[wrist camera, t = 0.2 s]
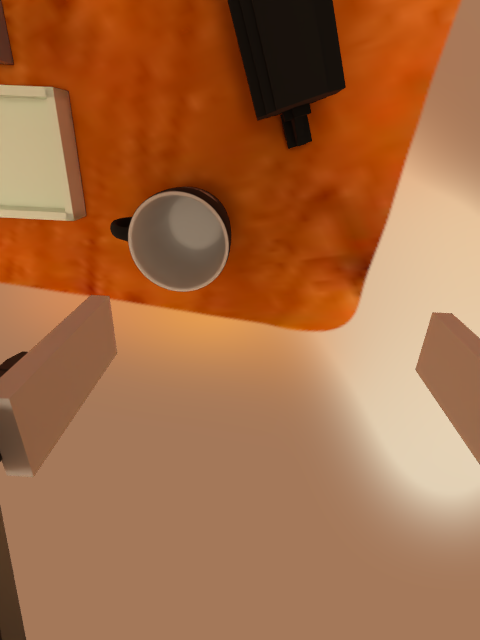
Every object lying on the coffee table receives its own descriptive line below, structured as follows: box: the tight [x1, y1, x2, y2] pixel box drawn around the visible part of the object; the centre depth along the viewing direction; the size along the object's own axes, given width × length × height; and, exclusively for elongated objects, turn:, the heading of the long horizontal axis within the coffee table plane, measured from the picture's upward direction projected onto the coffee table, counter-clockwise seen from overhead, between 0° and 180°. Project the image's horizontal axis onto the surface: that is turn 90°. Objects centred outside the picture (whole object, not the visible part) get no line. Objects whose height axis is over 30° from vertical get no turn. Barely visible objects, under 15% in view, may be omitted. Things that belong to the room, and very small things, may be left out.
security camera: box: [228, 0, 345, 149], centre depth 28 cm, size 7×18×10 cm, turn 17°
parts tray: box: [0, 85, 86, 221], centre depth 37 cm, size 12×12×3 cm
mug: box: [110, 187, 231, 292], centre depth 36 cm, size 12×9×10 cm
